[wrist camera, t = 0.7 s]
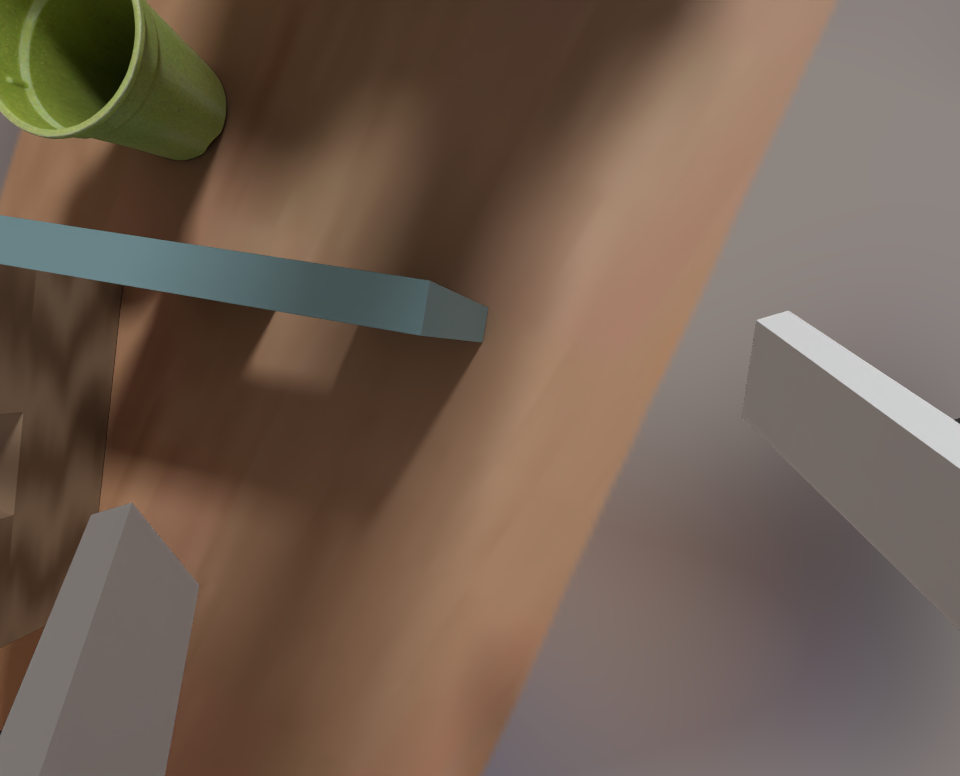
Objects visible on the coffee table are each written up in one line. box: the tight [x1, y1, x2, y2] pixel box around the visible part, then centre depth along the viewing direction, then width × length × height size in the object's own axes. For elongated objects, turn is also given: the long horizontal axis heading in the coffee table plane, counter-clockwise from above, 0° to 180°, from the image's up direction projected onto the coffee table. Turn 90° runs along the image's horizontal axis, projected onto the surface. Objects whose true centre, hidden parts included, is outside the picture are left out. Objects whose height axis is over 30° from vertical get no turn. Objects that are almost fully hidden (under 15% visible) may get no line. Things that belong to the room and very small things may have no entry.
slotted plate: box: [0, 215, 488, 343], centre depth 28 cm, size 2×20×12 cm, turn 80°
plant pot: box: [0, 0, 226, 160], centre depth 31 cm, size 9×9×9 cm
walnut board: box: [0, 264, 122, 648], centre depth 32 cm, size 22×2×12 cm, turn 170°
